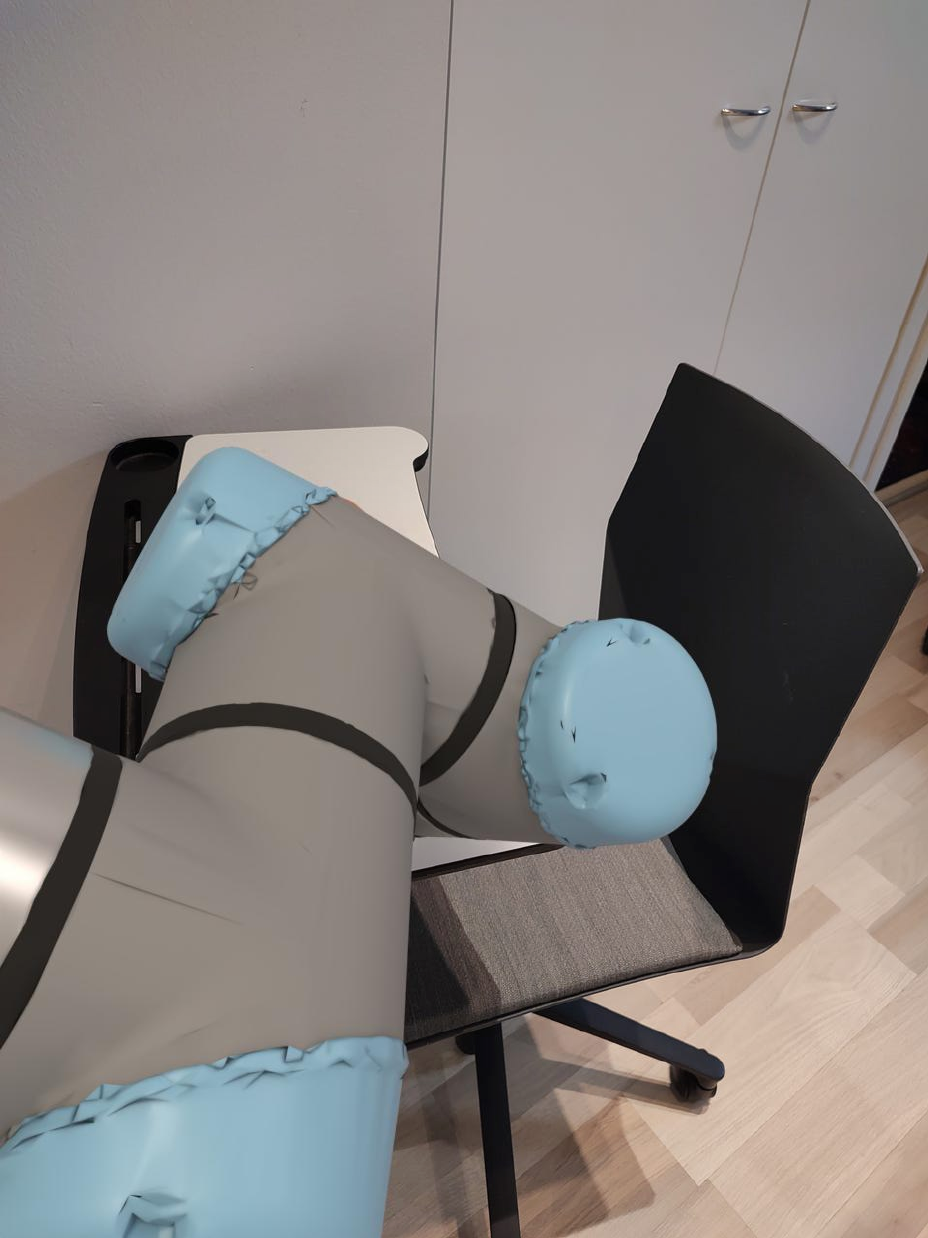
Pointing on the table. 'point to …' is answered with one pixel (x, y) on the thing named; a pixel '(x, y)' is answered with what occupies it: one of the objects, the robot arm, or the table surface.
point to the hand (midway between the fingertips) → (275, 773)
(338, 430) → the table surface
